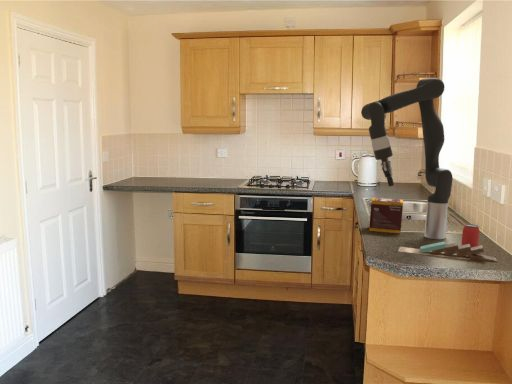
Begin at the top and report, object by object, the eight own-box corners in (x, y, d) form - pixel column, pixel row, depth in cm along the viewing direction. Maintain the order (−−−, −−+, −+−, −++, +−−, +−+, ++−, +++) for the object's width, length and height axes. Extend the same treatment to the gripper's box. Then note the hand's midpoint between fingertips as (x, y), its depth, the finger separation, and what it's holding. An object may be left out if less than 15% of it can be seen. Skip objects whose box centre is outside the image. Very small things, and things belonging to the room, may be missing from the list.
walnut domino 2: (444, 252, 200) (470, 246, 196) (444, 249, 205) (469, 243, 201) (445, 255, 200) (471, 250, 196) (445, 252, 205) (470, 247, 201)
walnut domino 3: (456, 253, 199) (482, 248, 195) (456, 250, 203) (481, 245, 199) (457, 257, 199) (483, 251, 195) (457, 254, 203) (483, 248, 200)
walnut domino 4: (469, 254, 197) (497, 261, 194) (469, 251, 202) (495, 257, 198) (468, 258, 197) (496, 264, 194) (468, 255, 202) (494, 261, 199)
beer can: (469, 255, 207) (472, 227, 205) (457, 251, 213) (459, 224, 211) (480, 254, 210) (483, 226, 208) (468, 250, 215) (471, 223, 214)
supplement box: (400, 233, 243) (403, 202, 241) (368, 230, 247) (371, 200, 245) (400, 229, 253) (403, 199, 251) (369, 226, 257) (372, 197, 255)
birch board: (397, 253, 205) (398, 251, 205) (399, 249, 213) (399, 246, 213) (469, 262, 196) (469, 259, 196) (468, 257, 203) (469, 254, 203)
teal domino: (419, 249, 203) (444, 243, 200) (420, 246, 208) (445, 241, 204) (420, 253, 204) (446, 247, 200) (421, 250, 208) (446, 244, 204)
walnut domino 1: (432, 250, 202) (457, 245, 198) (432, 247, 206) (457, 242, 203) (433, 254, 202) (458, 249, 198) (433, 251, 207) (458, 246, 203)
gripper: (388, 146, 208) (398, 186, 210) (391, 144, 221) (401, 181, 222) (371, 151, 211) (381, 190, 213) (375, 148, 224) (384, 185, 225)
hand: (391, 185), depth 217 cm, fingers closed
